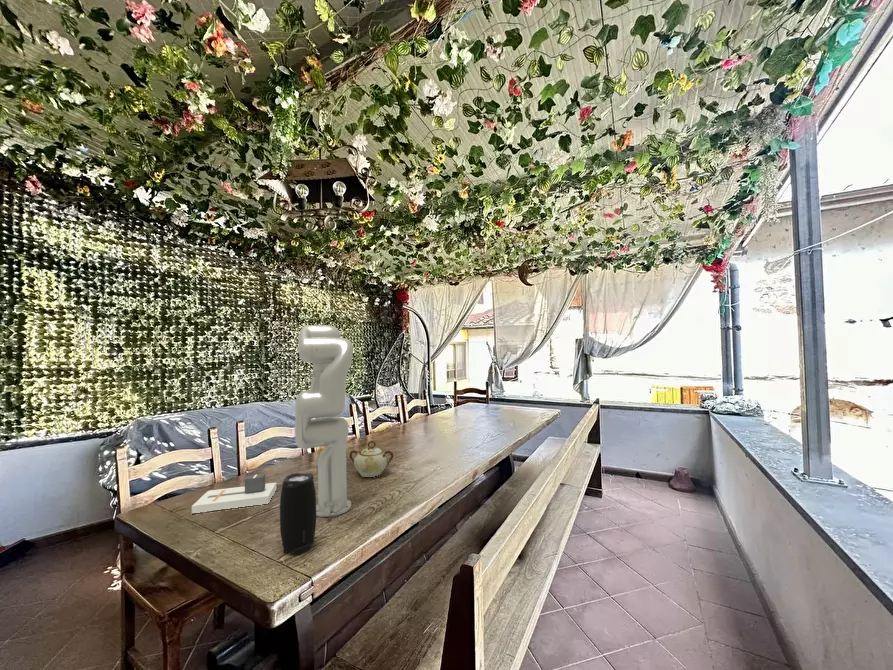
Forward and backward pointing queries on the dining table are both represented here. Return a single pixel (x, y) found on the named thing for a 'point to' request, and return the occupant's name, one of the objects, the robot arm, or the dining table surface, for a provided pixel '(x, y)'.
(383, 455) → the sugar bowl
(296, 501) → the portable speaker
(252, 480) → the fader tab
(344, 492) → the robot arm
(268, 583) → the dining table surface
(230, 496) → the board
